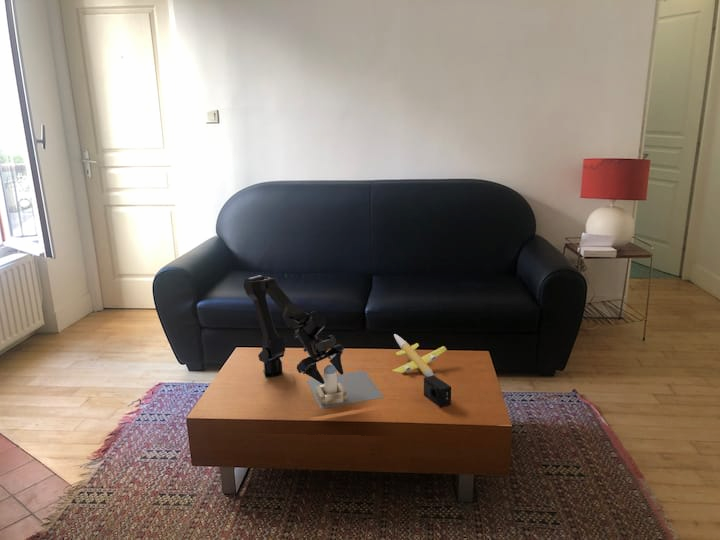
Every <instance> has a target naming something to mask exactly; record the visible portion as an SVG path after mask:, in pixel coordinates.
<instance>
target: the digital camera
mask: <svg viewBox="0 0 720 540" xmlns="http://www.w3.org/2000/svg"><path fill="white" fill-rule="evenodd" d="M423 396H424V397H426V398H427V399H428V400H430V402H432V403H433V404H435V405H436V406H438V407H439V408H444V407H448V406H451V405H452V386H450V385H449V384H448V383H446V382H445V381H444V380H441V379H440V378H439V377H437V376H435V374H434V375H432V376H429V377H426V376H425V377H423Z"/></svg>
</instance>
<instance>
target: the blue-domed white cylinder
mask: <svg viewBox="0 0 720 540" xmlns="http://www.w3.org/2000/svg"><path fill="white" fill-rule="evenodd" d="M337 372H338V371H337V370H336V368H335V367H334V366H333V365H332V364H328V365H326V366H325V367H324V369H323V377H324V382H325V383H324V386H325V395H327V394H333V393H337V375H338V373H337Z"/></svg>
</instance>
